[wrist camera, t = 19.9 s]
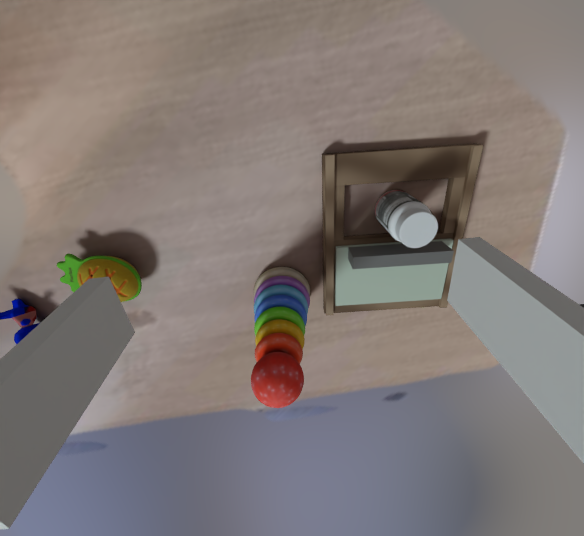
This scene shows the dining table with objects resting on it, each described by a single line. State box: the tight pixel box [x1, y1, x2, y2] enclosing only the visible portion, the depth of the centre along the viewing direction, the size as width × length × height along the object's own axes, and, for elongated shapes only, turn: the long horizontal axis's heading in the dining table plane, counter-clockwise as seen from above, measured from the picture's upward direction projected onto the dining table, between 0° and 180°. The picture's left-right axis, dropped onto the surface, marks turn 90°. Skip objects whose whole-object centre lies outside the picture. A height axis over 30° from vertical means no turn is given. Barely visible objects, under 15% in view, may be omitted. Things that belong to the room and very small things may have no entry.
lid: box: [335, 239, 454, 306], centre depth 39 cm, size 9×15×4 cm, turn 93°
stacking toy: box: [251, 267, 310, 408], centre depth 35 cm, size 8×8×19 cm
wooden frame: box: [322, 144, 483, 316], centre depth 39 cm, size 22×18×2 cm
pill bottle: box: [375, 190, 438, 248], centre depth 34 cm, size 5×5×8 cm
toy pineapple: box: [57, 254, 142, 302], centre depth 38 cm, size 7×10×5 cm
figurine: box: [0, 298, 40, 344], centre depth 42 cm, size 5×8×5 cm, turn 32°
